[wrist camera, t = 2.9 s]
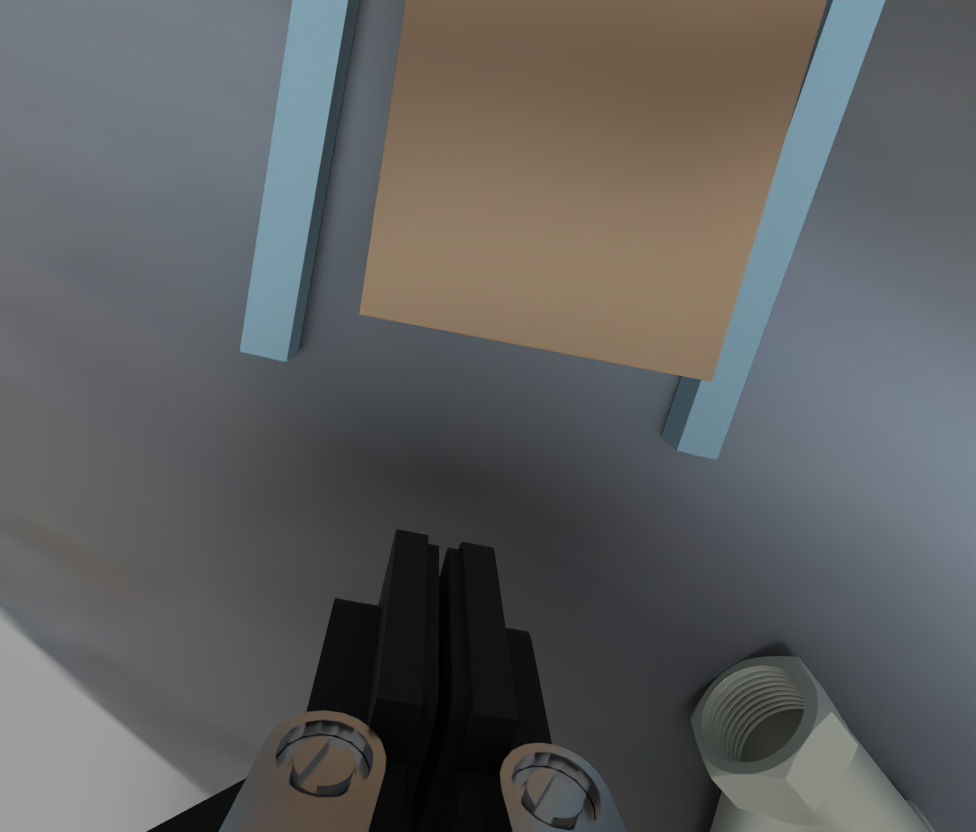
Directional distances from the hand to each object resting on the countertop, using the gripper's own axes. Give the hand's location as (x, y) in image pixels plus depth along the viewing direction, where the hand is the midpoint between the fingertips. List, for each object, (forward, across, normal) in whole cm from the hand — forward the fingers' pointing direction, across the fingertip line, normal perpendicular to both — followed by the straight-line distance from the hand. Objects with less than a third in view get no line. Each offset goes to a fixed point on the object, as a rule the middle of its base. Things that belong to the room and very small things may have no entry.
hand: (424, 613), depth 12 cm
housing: (+6, -1, -8) cm, 11 cm away
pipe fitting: (+6, -12, +8) cm, 15 cm away
